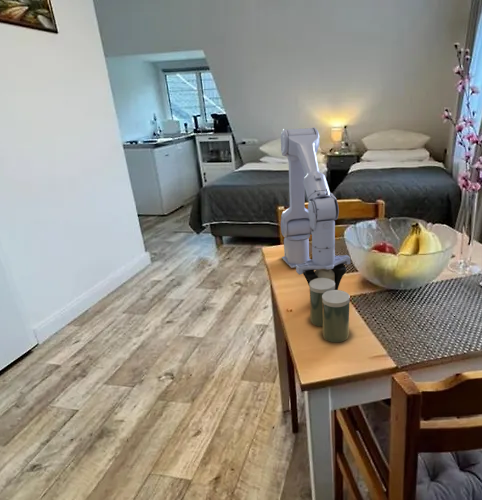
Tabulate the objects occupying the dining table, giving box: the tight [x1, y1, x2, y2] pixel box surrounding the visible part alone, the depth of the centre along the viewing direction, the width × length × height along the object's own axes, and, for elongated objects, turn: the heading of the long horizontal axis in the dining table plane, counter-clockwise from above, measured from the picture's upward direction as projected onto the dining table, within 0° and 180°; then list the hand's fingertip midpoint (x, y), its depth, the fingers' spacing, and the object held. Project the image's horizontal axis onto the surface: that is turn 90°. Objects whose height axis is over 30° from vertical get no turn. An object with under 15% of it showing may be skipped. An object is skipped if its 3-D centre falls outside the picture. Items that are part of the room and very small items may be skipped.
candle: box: [314, 269, 335, 282], centre depth 101 cm, size 6×6×10 cm
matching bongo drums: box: [308, 278, 351, 343], centre depth 90 cm, size 13×6×10 cm, turn 23°
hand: (324, 293), depth 101 cm, fingers closed on candle, 5 cm apart
